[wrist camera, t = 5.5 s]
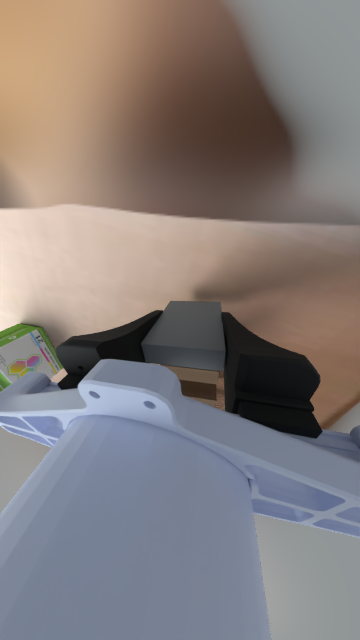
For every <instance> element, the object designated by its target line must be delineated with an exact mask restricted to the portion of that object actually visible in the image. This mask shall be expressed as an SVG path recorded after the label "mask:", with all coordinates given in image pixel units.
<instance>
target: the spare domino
mask: <svg viewBox="0 0 360 640" xmlns="http://www.w3.org/2000/svg"><path fill="white" fill-rule="evenodd" d="M141 346H142V350H143V354H144V357H145V361H146V362H147V363H155V364H164V365H172V366H181V367H189V368H198V369H206V370H215V371H223V367H224V359H225V341H224V332H223V323H222V317H221V303H220V302H199V301H170V303H169V304H168V305H167V307H166V308H165V310H164V311H163V313H162V315H161V316H160V318H159V319H158V320H157V321H156V323H155V324H154V326H153V327H152V329H151V330H150V331H149V333H148V334H147V336H146V337H145V339H144V340H143V341H142V343H141Z"/></svg>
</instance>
